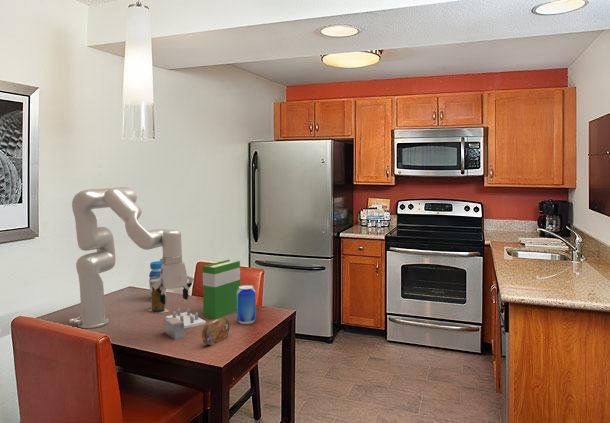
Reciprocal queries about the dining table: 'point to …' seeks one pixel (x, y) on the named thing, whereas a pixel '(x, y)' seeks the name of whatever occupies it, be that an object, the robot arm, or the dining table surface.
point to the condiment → (157, 302)
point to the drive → (174, 328)
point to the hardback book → (220, 288)
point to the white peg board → (187, 318)
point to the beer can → (246, 304)
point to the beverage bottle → (155, 275)
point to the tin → (215, 331)
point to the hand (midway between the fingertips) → (174, 301)
